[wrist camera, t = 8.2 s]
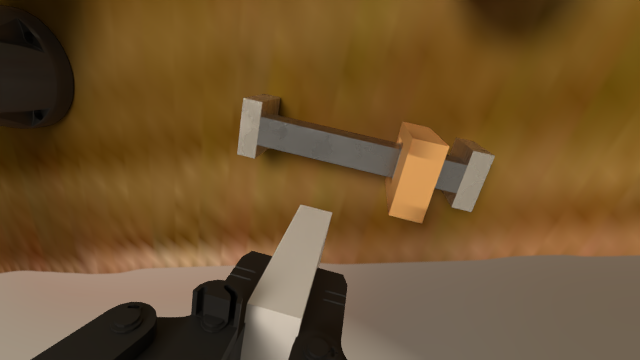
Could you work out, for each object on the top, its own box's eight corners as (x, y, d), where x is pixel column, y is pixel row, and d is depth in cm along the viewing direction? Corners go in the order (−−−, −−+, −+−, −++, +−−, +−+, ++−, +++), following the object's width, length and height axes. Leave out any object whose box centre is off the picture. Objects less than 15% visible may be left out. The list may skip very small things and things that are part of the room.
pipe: (258, 141, 39) (237, 154, 33) (264, 93, 37) (243, 97, 31) (455, 189, 37) (471, 212, 31) (473, 141, 35) (495, 156, 29)
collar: (384, 180, 37) (388, 215, 28) (402, 121, 34) (412, 138, 25) (409, 186, 37) (421, 223, 28) (429, 127, 34) (449, 146, 25)
